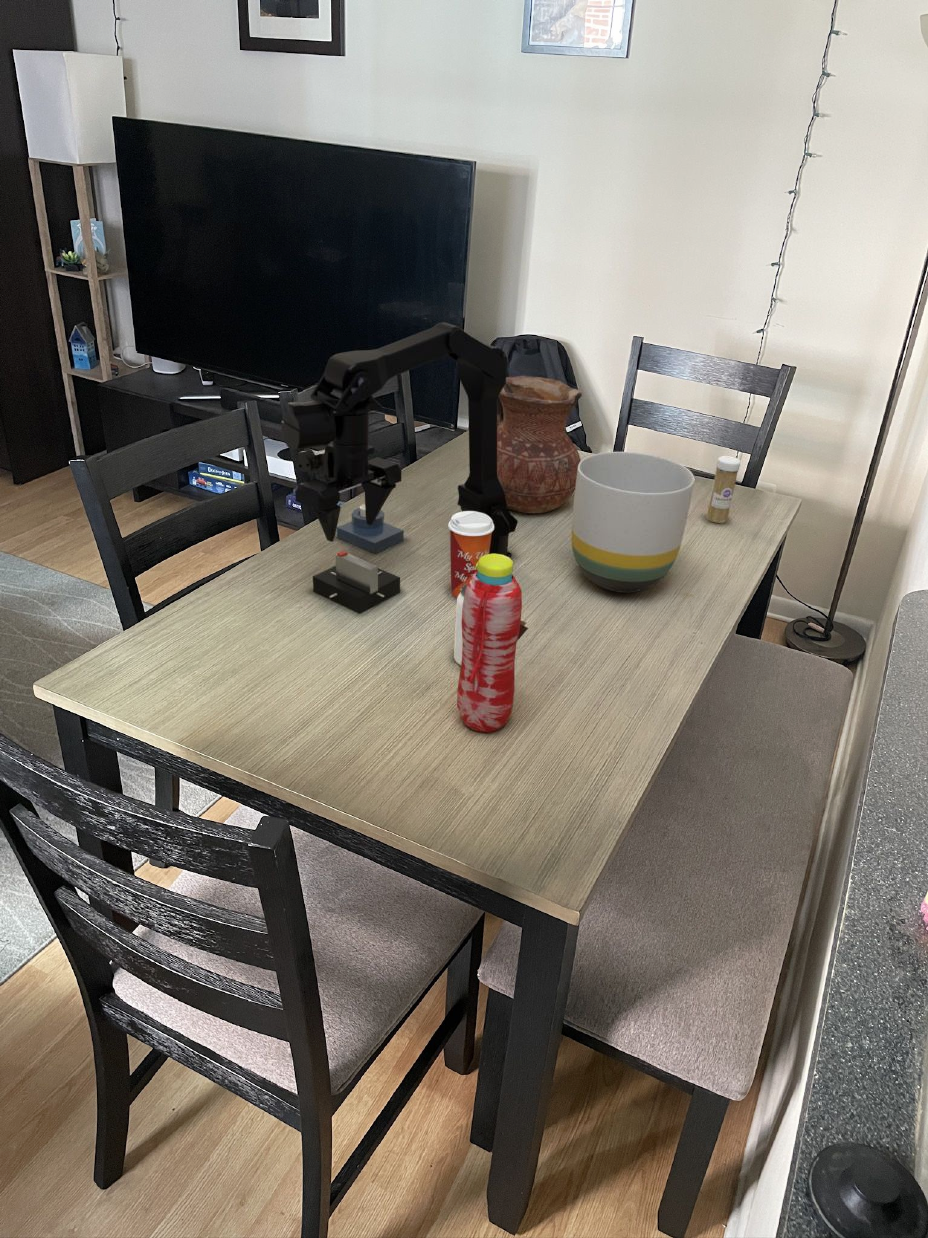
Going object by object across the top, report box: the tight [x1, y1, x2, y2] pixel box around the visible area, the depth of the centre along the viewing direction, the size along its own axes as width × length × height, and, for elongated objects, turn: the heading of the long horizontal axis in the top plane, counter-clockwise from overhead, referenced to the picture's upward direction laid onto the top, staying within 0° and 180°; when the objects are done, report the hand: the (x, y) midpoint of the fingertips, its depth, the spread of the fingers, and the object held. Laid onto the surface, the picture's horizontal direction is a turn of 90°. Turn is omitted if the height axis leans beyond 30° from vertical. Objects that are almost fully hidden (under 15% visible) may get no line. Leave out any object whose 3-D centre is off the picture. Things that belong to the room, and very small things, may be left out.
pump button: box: [359, 503, 366, 517], centre depth 172 cm, size 3×3×2 cm
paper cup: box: [447, 511, 494, 599], centre depth 151 cm, size 8×8×14 cm
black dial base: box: [312, 565, 401, 615], centre depth 150 cm, size 14×13×3 cm
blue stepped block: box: [336, 507, 404, 554], centre depth 171 cm, size 10×9×4 cm
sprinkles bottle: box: [705, 455, 741, 524], centre depth 185 cm, size 5×5×13 cm
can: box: [453, 583, 468, 667], centre depth 133 cm, size 6×6×12 cm
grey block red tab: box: [335, 550, 379, 594], centre depth 148 cm, size 8×2×5 cm, turn 52°
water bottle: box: [456, 554, 529, 733], centre depth 118 cm, size 12×8×25 cm, turn 153°
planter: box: [571, 451, 696, 593], centre depth 155 cm, size 20×20×21 cm
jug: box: [497, 375, 583, 514], centre depth 185 cm, size 22×21×25 cm
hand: (350, 532), depth 145 cm, fingers open, 9 cm apart
